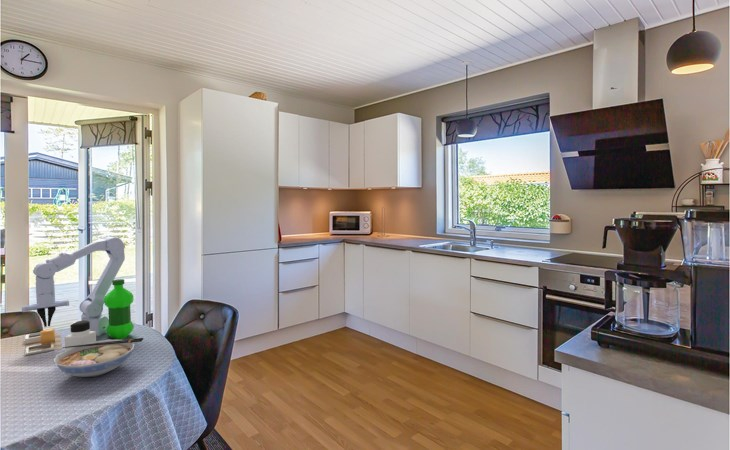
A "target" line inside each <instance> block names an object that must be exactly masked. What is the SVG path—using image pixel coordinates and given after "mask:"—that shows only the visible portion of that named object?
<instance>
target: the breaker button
mask: <svg viewBox="0 0 730 450" xmlns="http://www.w3.org/2000/svg"><path fill="white" fill-rule="evenodd" d="M40 332H41V331H39V332H35V333H29V334H30V338H31V337H37V336H41V333H40Z"/></svg>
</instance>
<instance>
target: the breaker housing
mask: <svg viewBox="0 0 730 450" xmlns="http://www.w3.org/2000/svg"><path fill="white" fill-rule="evenodd" d="M30 334H31V333H29V334H26V335H25V337H24V343H25V344H28V343H34V342H39V341H41V336H37V337H31V338H30Z"/></svg>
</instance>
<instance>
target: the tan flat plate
mask: <svg viewBox="0 0 730 450" xmlns="http://www.w3.org/2000/svg"><path fill="white" fill-rule="evenodd" d="M61 337H62V336H61V332H58V333H56V332H55V342H54V343H53V347H54V350H52V351H51V352H53V351H54V352H55V351H58V350H62V349H63V346H62V339H61ZM40 344H41V341H39V342H34V343H28V344H25V345H24V351H23V357H30V356H33V355H35V354H31V355H26V356H25V352H26V347H29V346H34V345H40ZM48 348H51V345H48V346H43V347H38V348H32V349H29V352H33V351H38V350H43V349H48ZM49 352H50V351H47V352H46V353H49ZM44 353H45V352H42V353H41V354H44ZM39 354H40V353H37V354H36V355H39Z"/></svg>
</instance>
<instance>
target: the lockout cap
mask: <svg viewBox="0 0 730 450" xmlns="http://www.w3.org/2000/svg"><path fill="white" fill-rule="evenodd" d="M55 331H56V329H55V328H47V329H43V330H41V331H39V332H40V333H41V344H45V343H51V342H53V343H54V342H55V334H56V332H55Z"/></svg>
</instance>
